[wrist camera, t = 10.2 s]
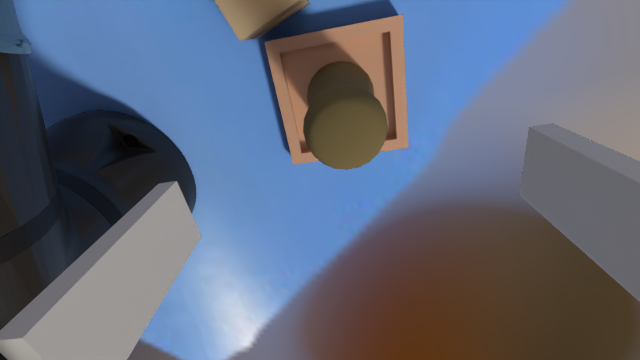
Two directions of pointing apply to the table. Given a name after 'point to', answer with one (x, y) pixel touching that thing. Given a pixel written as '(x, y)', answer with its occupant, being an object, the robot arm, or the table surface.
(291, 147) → the terracotta dish
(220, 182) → the table surface
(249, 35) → the oak block
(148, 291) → the robot arm
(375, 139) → the cork
